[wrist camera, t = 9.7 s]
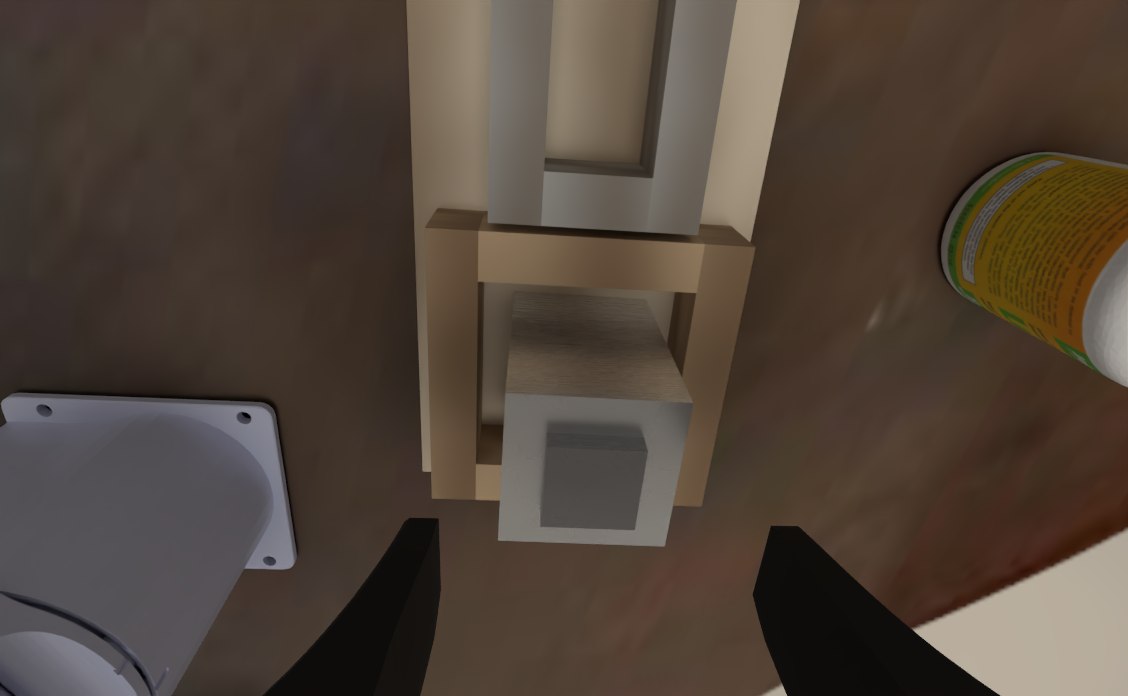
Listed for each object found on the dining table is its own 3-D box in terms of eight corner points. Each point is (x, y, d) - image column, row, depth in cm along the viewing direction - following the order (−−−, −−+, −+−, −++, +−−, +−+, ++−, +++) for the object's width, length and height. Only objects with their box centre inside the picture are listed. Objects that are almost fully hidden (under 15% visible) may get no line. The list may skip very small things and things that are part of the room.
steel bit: (509, 405, 23) (496, 557, 16) (514, 290, 21) (503, 406, 14) (629, 411, 23) (668, 563, 16) (646, 299, 21) (699, 416, 14)
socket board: (425, 459, 24) (410, 514, 21) (403, -279, 15) (369, -362, 12) (696, 468, 25) (718, 523, 22) (835, -230, 16) (904, -297, 13)
